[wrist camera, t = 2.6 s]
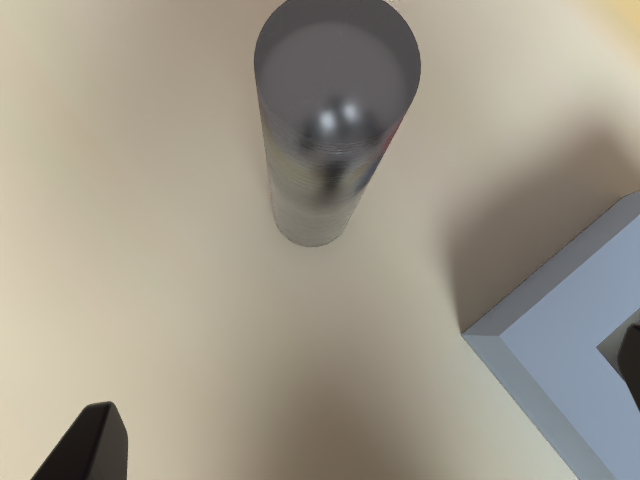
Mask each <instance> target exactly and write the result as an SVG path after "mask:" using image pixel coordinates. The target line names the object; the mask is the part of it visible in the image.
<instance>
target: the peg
mask: <svg viewBox="0 0 640 480" xmlns="http://www.w3.org/2000/svg"><path fill="white" fill-rule="evenodd" d="M254 70H255V78H256V86H257V93H258V100H259V108H260V115H261V123H262V130H263V137H264V145H265V152H266V159H267V167H268V174H269V181H270V189H271V196H272V204H273V211H274V217H275V221H276V224H277V226H278V228H279V229H280V231H281V232H282V234H283V235H284V236H285V237H286V238H288V239H289V240H290V241H292V242H294V243H296V244H298V245H301V246H306V247H318V246H322V245H325V244H327V243H329V242H331V241H333V240H334V239H336V238H337V237H338V236H339V235H340V234H341V232H342V231H343V229H344V228H345V226H346V224H347V222H348V220H349V218H350V217H351V215H352V213H353V211H354V209H355V207H356V205H357V203H358V202H359V200H360V198H361V196H362V194H363V192H364V190H365V189H366V187H367V185H368V183H369V181H370V179H371V177H372V176H373V174H374V172H375V170H376V168H377V166H378V164H379V162H380V161H381V159H382V157H383V155H384V153H385V151H386V149H387V148H388V146H389V144H390V142H391V140H392V138H393V136H394V134H395V133H396V131H397V129H398V127H399V125H400V123H401V121H402V120H403V118H404V116H405V114H406V112H407V110H408V108H409V107H410V105H411V103H412V101H413V99H414V96H415V94H416V92H417V88H418V85H419V80H420V74H421V61H420V53H419V49H418V45H417V42H416V40H415V37H414V35H413V33H412V31H411V29H410V27H409V26H408V24H407V23H406V21H405V20H404V19H403V17H402V16H401V15H400V14H399V13H398V12H397V11H396V10H395V9H394V8H393V7H391V6H390V5H389V4H388V3H386V2H385V1H383V0H287V1H286V2H284V3H283V4H282V5H281V6H279V7H278V8H277V9H276V10H275V11H274V12H273V13H272V14H271V16H270V17H269V19H268V20H267V21H266V23H265V24H264V26H263V28H262V30H261V32H260V34H259V37H258V40H257V43H256V48H255V54H254Z"/></svg>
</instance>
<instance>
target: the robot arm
mask: <svg viewBox="0 0 640 480" xmlns="http://www.w3.org/2000/svg"><path fill="white" fill-rule="evenodd" d="M617 361H618V366H619V369H620V372H621V374H622V376H623V378H624V380H625V382H626V384H627V387H628V389H629V391H630V393H631V395H632V397H633V399H634V402H635V404H636V406H637V408H638V410H639V412H640V323H636V324H632V325H630V326H629V327H628V329H627V331H626V333H625V336H624V339H623V341H622V344H621V347H620V349H619V352H618V356H617ZM127 460H128V435H127V431H126V428H125V426H124V424H123V421H122V419H121V417H120V414H119V412H118V410H117V408H116V406H115V404H114V403H113V402H111V401H107V402H100V403H93V404H89V405H87V406H86V407H85V408H84V409H83V410H82V412H81V413H80V414H79V416H78V417H77V418H76V420H75V421H74V422H73V424H72V425H71V426H70V428H69V429H68V430H67V432H66V433H65V434H64V436H63V437H62V438H61V440H60V441H59V442H58V444H57V445H56V446H55V448H54V449H53V450H52V452H51V453H50V454H49V456H48V457H47V458H46V460H45V461H44V462H43V464H42V465H41V466H40V468H39V469H38V470H37V472H36V473H35V474H34V476H33V477H32V478H31V480H127Z"/></svg>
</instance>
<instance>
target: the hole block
mask: <svg viewBox="0 0 640 480" xmlns="http://www.w3.org/2000/svg"><path fill="white" fill-rule="evenodd" d="M639 308H640V190H639V191H637V192H634V193H632V194H629V195H627V196H624V197H623V198H622V199H620V200H619V201H618V202H617V203H616V204H615V205H613V206H612V207H611V208H610V209H609V210H607V211H606V212H605V213H604V214H603V215H602V216H600V217H599V218H598V219H597V220H596V221H595V222H593V223H592V224H591V225H590V226H589V227H587V228H586V229H585V230H584V231H583V232H582V233H580V234H579V235H578V236H577V237H576V238H575V239H573V240H572V241H571V242H570V243H569V244H567V245H566V246H565V247H564V248H563V249H562V250H560V251H559V252H558V253H557V254H556V255H555V256H553V257H552V258H551V259H550V260H549V261H547V262H546V263H545V264H544V265H543V266H542V267H540V268H539V269H538V270H537V271H536V272H535V273H533V274H532V275H531V276H530V277H529V278H527V279H526V280H525V281H524V282H523V283H522V284H520V285H519V286H518V287H517V288H516V289H515V290H513V291H512V292H511V293H510V294H509V295H507V296H506V297H505V298H504V299H503V300H502V301H500V302H499V303H498V304H497V305H496V306H495V307H493V308H492V309H491V310H490V311H489V312H488V313H486V314H485V315H484V316H483V317H482V318H480V319H479V320H478V321H477V322H476V323H475V324H473V325H472V326H471V327H470V328H469V329H468V330H466V331H465V332H464V333H463V334H462V337H463V338H464V339H465V340H466V341H467V343H468V344H469V345H470V346H471V348H472V349H473V350H474V351H475V353H476V354H477V355H478V356H479V357H480V359H481V360H482V361H483V362H484V364H485V365H486V366H487V367H488V368H489V370H490V371H491V372H492V373H493V375H494V376H495V377H496V378H497V379H498V381H499V382H500V383H501V384H502V386H503V387H504V388H505V389H506V391H507V392H508V393H509V394H510V395H511V397H512V398H513V399H514V400H515V402H516V403H517V404H518V405H519V406H520V408H521V409H522V410H523V411H524V413H525V414H526V415H527V416H528V417H529V419H530V420H531V421H532V422H533V424H534V425H535V426H536V427H537V429H538V430H539V431H540V432H541V433H542V435H543V436H544V437H545V438H546V440H547V441H548V442H549V443H550V444H551V446H552V447H553V448H554V449H555V451H556V452H557V453H558V454H559V455H560V457H561V458H562V459H563V460H564V462H565V463H566V464H567V465H568V466H569V468H570V469H571V470H572V471H573V473H574V474H575V475H576V476H577V478H578V479H579V480H640V412H639V410H638V408H637V406H636V404H635V402H634V399H633V397H632V395H631V393H630V391H629V389H628V387H627V384H626V382H625V381H624V380H623V379H622V378H621V377H620V375H619V374H618V373H617V372H616V371H615V369H614V368H613V367H612V366H611V365H610V363H609V362H608V361H607V360H606V359H605V357H604V356H603V355H602V354H601V353H600V352H599V350H598V349H597V348H596V346H598V345H599V344H600V343H601V342H602V341H603V340H604V339H605V338H607V337H608V336H609V335H610V334H611V333H612V332H613V331H614V330H615V329H617V328H618V327H619V326H620V325H621V324H622V323H623V322H624V321H626V320H627V319H628V318H629V317H630V316H631V315H632V314H633V313H635V312H636V311H637V310H638V309H639Z"/></svg>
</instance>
